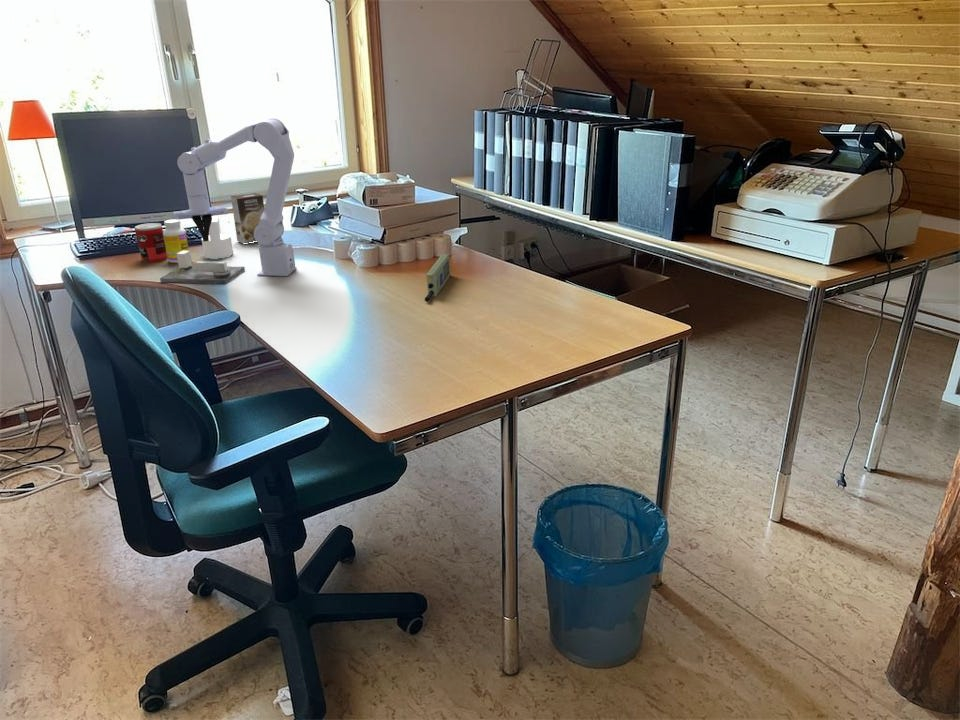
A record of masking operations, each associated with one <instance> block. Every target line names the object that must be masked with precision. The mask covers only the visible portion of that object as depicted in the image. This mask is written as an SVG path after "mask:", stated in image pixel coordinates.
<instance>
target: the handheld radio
mask: <svg viewBox="0 0 960 720" xmlns="http://www.w3.org/2000/svg"><path fill="white" fill-rule="evenodd" d="M425 275H426V284H427V285H426V287H427V295H426V297H424V301H425V302H426V303H429V302H430V300H431V299H432V297H434V296H435V297H437V296H438V295H439V293H440V291H442V289H443V287H444V285H445V284H446V283H447V281H448V279H449V278H450V277H451V266H450V255H449V253H447V254H445V253H443V254H441V255H440V256H439V257H438V259H437V260H436V262H435V263H433V265H432V267H431V268H430V269H429V270H428V272H426V274H425Z"/></svg>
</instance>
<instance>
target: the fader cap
mask: <svg viewBox="0 0 960 720" xmlns="http://www.w3.org/2000/svg"><path fill="white" fill-rule="evenodd" d="M177 259H178V263H177V264H178V268H188V267H189V266H192V262H193V260H192V254H191V250H189V251H181V252H179V253H177Z"/></svg>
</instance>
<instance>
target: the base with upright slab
mask: <svg viewBox="0 0 960 720" xmlns="http://www.w3.org/2000/svg"><path fill="white" fill-rule="evenodd" d="M211 217H212V222H211V225H210V229H209V241H203V238H202V237H201V243H202V250H203V254H204V258H205V259H207V258H210V259H209V260H219V259H218V258H222V259H225V258H224V257H227V258H229V257H228V256H230V257H232V256H233V255H234V250H233V243H232V242H233V241H232V236H231V235H230V234H226V233H222V230H221V224H220V219H219V215H211ZM232 254H233V255H232ZM231 255H232V256H231ZM211 258H212V259H211Z"/></svg>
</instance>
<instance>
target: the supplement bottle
mask: <svg viewBox="0 0 960 720" xmlns="http://www.w3.org/2000/svg"><path fill="white" fill-rule="evenodd" d="M163 224H164V227H165V229H164V230H163V237H164V241H165V246H166V252H167V260H168V262H169V263H172V264H178V259H177V253H179V252H181V251H190V250H189V249H190V248H189V244H188V238H187V233H186V230H185V229H184V228H183V227H181V220H180V219H178V220H175V218H174V219H167V220H164V222H163Z"/></svg>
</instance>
